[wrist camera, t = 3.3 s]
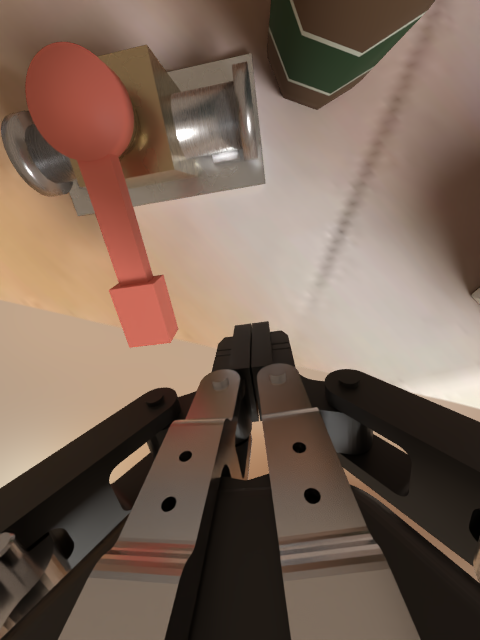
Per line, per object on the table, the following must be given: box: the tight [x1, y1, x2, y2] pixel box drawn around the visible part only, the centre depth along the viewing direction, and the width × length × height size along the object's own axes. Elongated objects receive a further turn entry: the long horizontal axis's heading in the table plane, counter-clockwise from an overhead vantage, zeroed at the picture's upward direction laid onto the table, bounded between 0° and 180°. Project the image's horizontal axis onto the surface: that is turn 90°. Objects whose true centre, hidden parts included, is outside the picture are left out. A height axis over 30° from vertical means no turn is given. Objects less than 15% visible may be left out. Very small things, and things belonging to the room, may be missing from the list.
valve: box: [1, 45, 265, 216], centre depth 20 cm, size 9×18×11 cm, turn 99°
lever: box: [25, 42, 178, 347], centre depth 16 cm, size 15×5×2 cm, turn 9°
